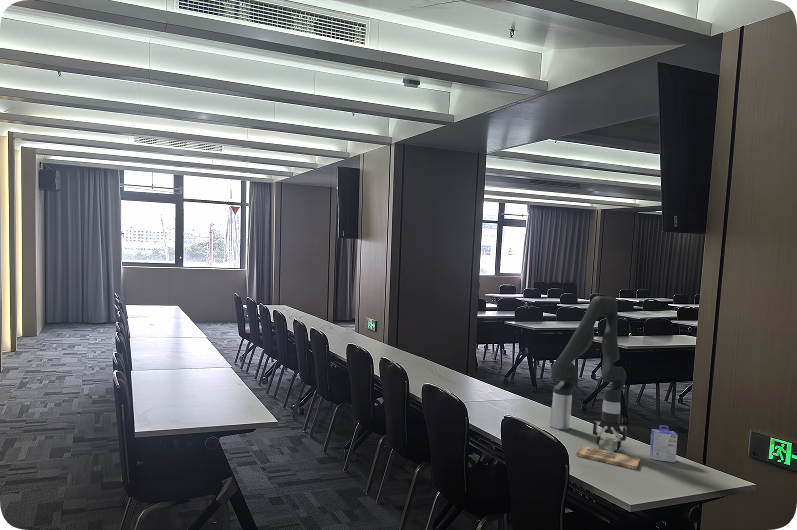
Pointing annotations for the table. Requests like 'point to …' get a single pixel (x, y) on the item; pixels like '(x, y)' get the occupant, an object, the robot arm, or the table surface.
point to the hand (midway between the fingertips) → (608, 446)
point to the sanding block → (608, 444)
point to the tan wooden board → (608, 457)
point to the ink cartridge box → (663, 444)
